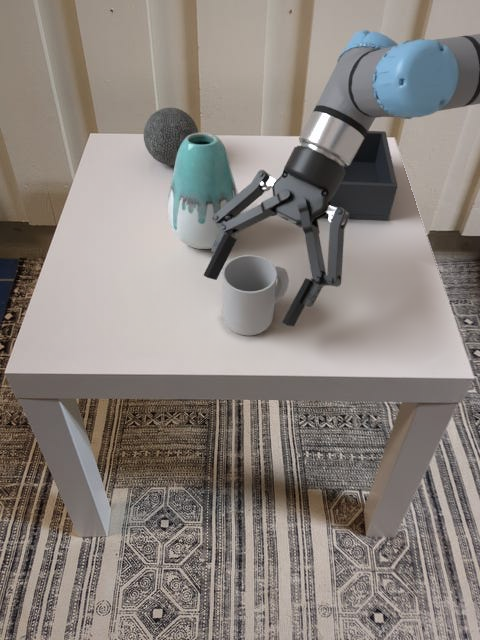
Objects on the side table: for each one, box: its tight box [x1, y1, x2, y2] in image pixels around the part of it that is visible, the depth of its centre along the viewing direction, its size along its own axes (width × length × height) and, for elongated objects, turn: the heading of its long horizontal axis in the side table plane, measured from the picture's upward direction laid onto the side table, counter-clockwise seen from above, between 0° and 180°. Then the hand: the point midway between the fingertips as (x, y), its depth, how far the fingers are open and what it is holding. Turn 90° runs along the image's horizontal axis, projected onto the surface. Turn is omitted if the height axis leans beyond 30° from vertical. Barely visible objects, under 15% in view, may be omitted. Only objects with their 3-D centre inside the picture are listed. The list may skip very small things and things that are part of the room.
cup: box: [221, 254, 290, 336], centre depth 78 cm, size 7×10×9 cm
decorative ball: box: [143, 107, 199, 166], centre depth 103 cm, size 10×10×10 cm
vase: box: [166, 132, 242, 250], centre depth 86 cm, size 12×12×18 cm
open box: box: [321, 130, 398, 222], centre depth 99 cm, size 17×15×7 cm
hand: (247, 300), depth 77 cm, fingers open, 13 cm apart
